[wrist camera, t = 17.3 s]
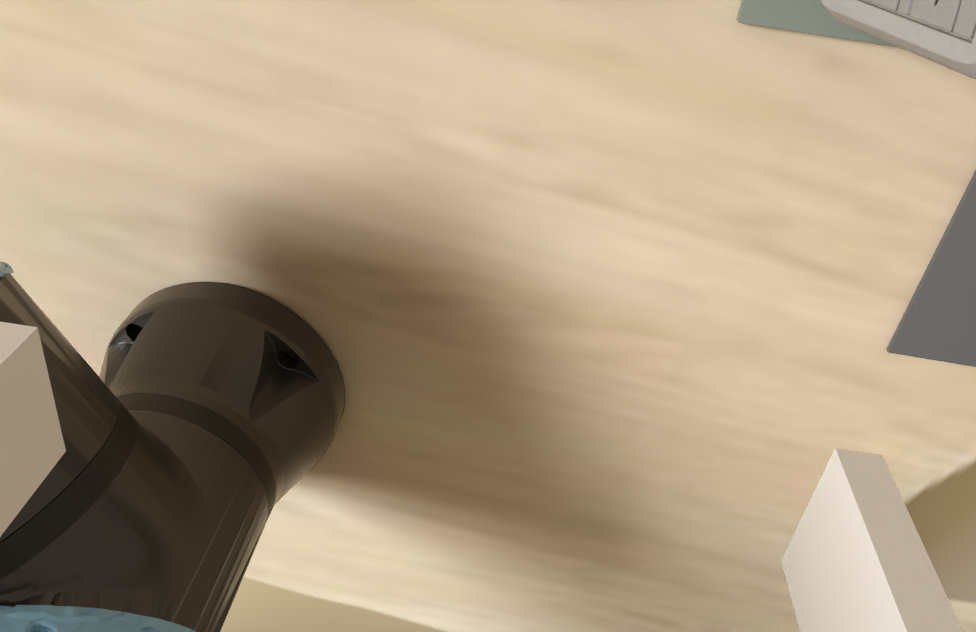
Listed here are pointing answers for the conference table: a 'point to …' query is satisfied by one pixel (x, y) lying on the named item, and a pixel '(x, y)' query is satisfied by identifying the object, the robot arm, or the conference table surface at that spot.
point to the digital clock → (917, 27)
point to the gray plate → (945, 296)
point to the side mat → (800, 19)
